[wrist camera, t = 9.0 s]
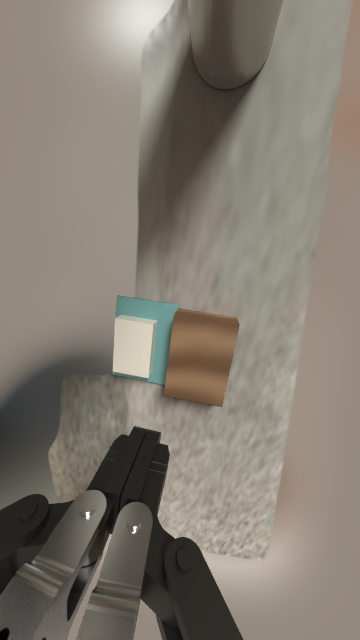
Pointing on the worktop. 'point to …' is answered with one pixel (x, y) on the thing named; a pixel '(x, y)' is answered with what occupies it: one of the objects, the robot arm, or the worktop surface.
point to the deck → (200, 356)
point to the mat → (163, 331)
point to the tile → (134, 345)
